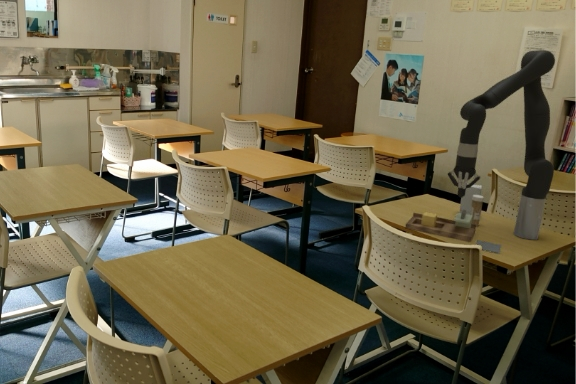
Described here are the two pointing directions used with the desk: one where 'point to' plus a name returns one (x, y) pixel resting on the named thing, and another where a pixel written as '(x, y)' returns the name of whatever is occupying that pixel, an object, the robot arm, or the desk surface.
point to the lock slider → (463, 219)
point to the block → (429, 219)
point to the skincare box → (469, 198)
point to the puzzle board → (442, 228)
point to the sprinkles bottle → (476, 209)
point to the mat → (489, 246)
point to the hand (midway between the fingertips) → (460, 196)
